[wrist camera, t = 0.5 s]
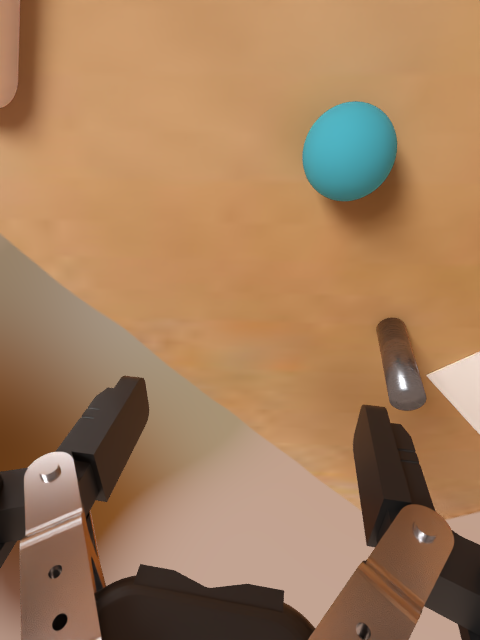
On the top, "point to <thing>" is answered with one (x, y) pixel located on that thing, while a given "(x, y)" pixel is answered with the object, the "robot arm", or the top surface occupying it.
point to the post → (400, 366)
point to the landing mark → (461, 387)
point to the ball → (349, 151)
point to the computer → (9, 49)
